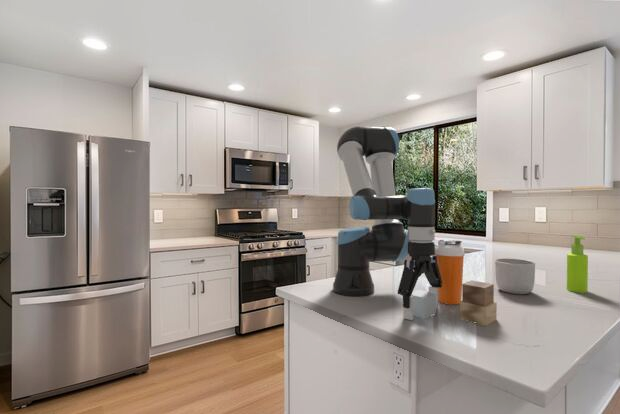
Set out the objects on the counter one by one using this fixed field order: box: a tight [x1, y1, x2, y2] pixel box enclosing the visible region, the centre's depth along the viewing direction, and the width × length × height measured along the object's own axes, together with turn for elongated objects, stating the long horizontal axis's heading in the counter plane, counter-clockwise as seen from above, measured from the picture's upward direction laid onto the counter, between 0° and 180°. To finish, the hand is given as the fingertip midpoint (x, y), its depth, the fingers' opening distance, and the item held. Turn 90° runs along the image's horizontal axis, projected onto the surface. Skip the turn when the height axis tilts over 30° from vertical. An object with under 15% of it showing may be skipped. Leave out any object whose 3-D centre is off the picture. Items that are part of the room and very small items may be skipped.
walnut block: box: [461, 280, 495, 307], centre depth 93 cm, size 6×6×5 cm
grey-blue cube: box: [411, 289, 437, 320], centre depth 97 cm, size 6×6×6 cm
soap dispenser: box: [566, 235, 589, 294], centre depth 120 cm, size 6×7×20 cm
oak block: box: [459, 300, 498, 327], centre depth 93 cm, size 7×7×5 cm
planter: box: [494, 257, 536, 295], centre depth 120 cm, size 12×12×11 cm
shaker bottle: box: [434, 239, 465, 305], centre depth 109 cm, size 9×9×20 cm
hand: (421, 313), depth 97 cm, fingers open, 13 cm apart
